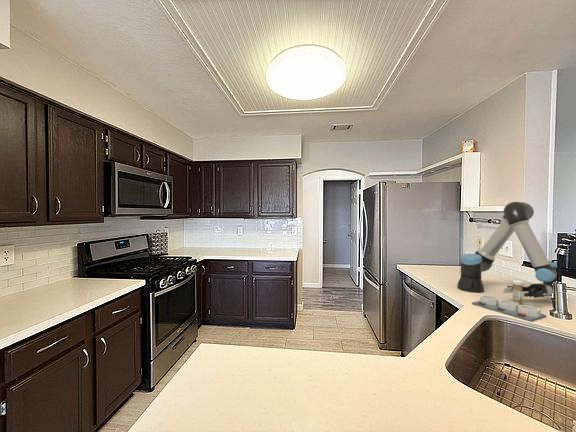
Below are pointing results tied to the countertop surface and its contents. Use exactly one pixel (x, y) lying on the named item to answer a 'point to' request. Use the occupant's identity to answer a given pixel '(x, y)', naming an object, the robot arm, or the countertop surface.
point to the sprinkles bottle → (517, 291)
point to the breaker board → (508, 312)
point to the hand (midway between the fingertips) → (511, 292)
